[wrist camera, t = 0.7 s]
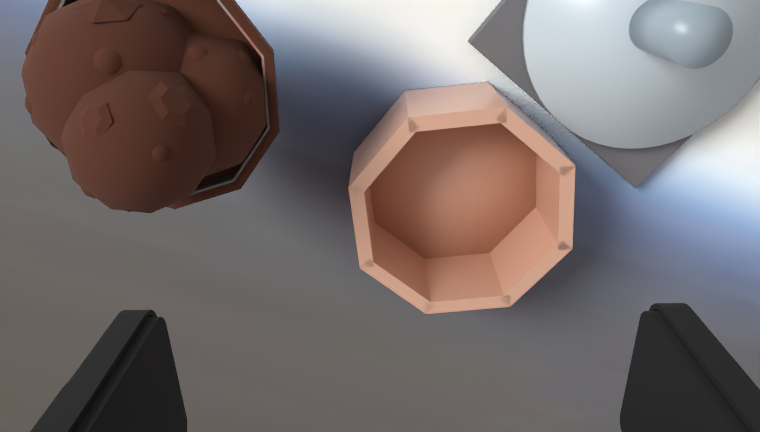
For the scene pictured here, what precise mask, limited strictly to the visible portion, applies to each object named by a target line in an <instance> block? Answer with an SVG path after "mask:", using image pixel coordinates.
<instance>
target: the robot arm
mask: <svg viewBox="0 0 760 432" xmlns="http://www.w3.org/2000/svg"><path fill="white" fill-rule="evenodd" d="M620 426H621V430H622V432H760V389H759V388H758V387H757V386H756V385H755V383H754V382H753V381H752V380H751V379H750V378H749V376H748V375H747V374H746V373H745V372H744V370H743V369H742V368H741V367H740V366H739V365H738V363H737V362H736V361H735V360H734V359H733V357H732V356H731V355H730V354H729V353H728V351H727V350H726V349H725V348H724V347H723V346H722V344H721V343H720V342H719V341H718V340H717V338H716V337H715V336H714V335H713V334H712V333H711V331H710V330H709V329H708V328H707V327H706V325H705V324H704V323H703V322H702V321H701V319H700V318H699V317H698V316H697V315H696V314H695V312H694V311H693V310H692V309H691V308H690V307H689V306H688V305H687V304H684V303H655V304H653V305H652V306H651V307H650V310H649V311H644V312H643V313H642V314H641V317H640V321H639V326H638V331H637V335H636V340H635V345H634V350H633V355H632V360H631V365H630V369H629V374H628V379H627V384H626V389H625V394H624V399H623V403H622V408H621V413H620ZM31 432H187V417H186V413H185V408H184V403H183V399H182V394H181V390H180V385H179V381H178V376H177V372H176V367H175V363H174V358H173V353H172V349H171V344H170V340H169V335H168V331H167V326H166V322H165V320H164V318H162V317H157V316H156V313H155V312H154V311H153V310H124V311H121V312H120V313H119V314H118V315H117V317H116V318H115V319H114V321H113V322H112V323H111V325H110V326H109V327H108V329H107V330H106V332H105V333H104V334H103V336H102V337H101V338H100V340H99V341H98V342H97V344H96V345H95V347H94V348H93V349H92V351H91V352H90V353H89V355H88V356H87V357H86V359H85V360H84V362H83V363H82V364H81V366H80V367H79V368H78V370H77V371H76V373H75V374H74V375H73V377H72V378H71V379H70V381H69V382H68V383H67V384H66V385H65V386H64V387H63V388H62V390H61V391H60V392H59V394H58V395H57V396H56V398H55V399H54V400H53V402H52V403H51V404H50V406H49V407H48V409H47V410H46V411H45V413H44V414H43V415H42V417H41V418H40V419H39V421H38V422H37V424H36V425H35V426H34V428H33V429H32V430H31Z"/></svg>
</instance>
